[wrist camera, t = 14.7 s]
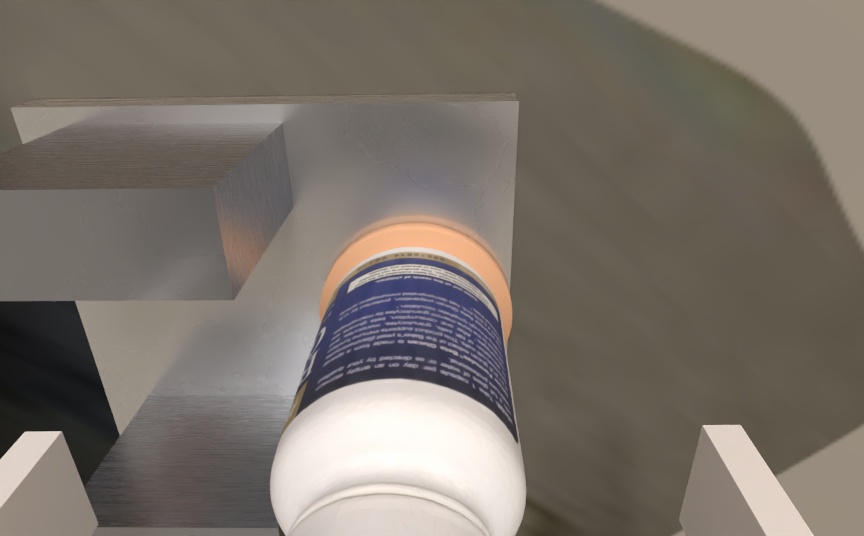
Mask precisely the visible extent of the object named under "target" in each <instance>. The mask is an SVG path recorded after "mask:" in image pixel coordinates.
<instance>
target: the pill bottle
mask: <svg viewBox="0 0 864 536" xmlns="http://www.w3.org/2000/svg"><path fill="white" fill-rule="evenodd" d="M270 496H271V502H272V507H273V510H274V513H275V516H276V519H277V521H278V523H279V525H280V527H281V529H282V531H283V532H284V534H285V536H515V535H516V533H517V530H518V528H519V526H520V523H521V521H522V518H523V513H524V509H525V502H526V480H525V472H524V464H523V458H522V452H521V446H520V440H519V434H518V427H517V421H516V415H515V408H514V401H513V394H512V387H511V380H510V373H509V366H508V360H507V353H506V346H505V339H504V332H503V324H502V319H501V313H500V309H499V306H498V303H497V300H496V298H495V296H494V294H493V292H492V290H491V288H490V287H489V285H488V284H487V282H486V281H485V280H484V279H483V278H482V276H481V275H480V274H479V273H478V272H477V271H476V270H475V269H474V268H472V267H471V266H470V265H468V264H467V263H466V262H464V261H462V260H461V259H459V258H457V257H455V256H453V255H451V254H448V253H446V252H443V251H440V250H436V249H432V248H425V247H400V248H394V249H390V250H386V251H383V252H380V253H377V254H375V255H373V256H371V257H369V258H367V259H365V260H363V261H362V262H360V263H359V264H357V265H356V266H355V267H354V268H352V269H351V270H350V271H349V272H348V273H347V274H346V275H345V276H344V277H343V279H342V280H341V281H340V282H339V284H338V285H337V287H336V289H335V290H334V292H333V294H332V297H331V299H330V301H329V303H328V306H327V308H326V311H325V314H324V317H323V319H322V322H321V325H320V328H319V331H318V333H317V336H316V339H315V342H314V345H313V347H312V350H311V352H310V355H309V357H308V360H307V362H306V365H305V369H304V372H303V374H302V377H301V381H300V383H299V386H298V389H297V392H296V395H295V398H294V401H293V404H292V407H291V409H290V412H289V415H288V418H287V420H286V423H285V426H284V428H283V431H282V434H281V437H280V440H279V443H278V447H277V450H276V454H275V457H274V461H273V465H272V469H271V477H270Z"/></svg>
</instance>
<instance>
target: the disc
mask: <svg viewBox="0 0 864 536" xmlns="http://www.w3.org/2000/svg"><path fill="white" fill-rule="evenodd" d="M400 247H425V248H432V249H436V250H440V251H443V252H446V253H448V254H451V255H453V256H455V257H457V258H459V259H461V260H462V261H464V262H466V263H467V264H468V265H470V266H471V267H472V268H474V269H475V270H476V271H477V272H478V273H479V274H480V275H481V276H482V278H483V279H484V280H485V281H486V282H487V284H488V285H489V287H490V288H491V290H492V292H493V294H494V296H495V298H496V300H497V303H498V306H499V309H500V313H501V319H502V324H503V332H504V339H505V345H506V342H507V340H508V337H509V334H510V330H511V326H512V304H511V299H510V294H509V289H508V285H507V282H506V279H505V277H504V274H503V272H502V271H501V269H500V267H499V265H498V264H497V262H496V261H495V260H494V258H493V257H492V256H491V255H490V254H489V253H488V252H487V251H486V250H485V249H484V248H483V247H482V246H481V245H480V244H478V243H477V242H476V241H474V240H473V239H472V238H470V237H468V236H466V235H464V234H463V233H461V232H459V231H456V230H453V229H451V228H448V227H445V226H441V225H437V224H431V223H424V222H406V223H397V224H392V225H388V226H384V227H381V228H379V229H376V230H373V231H371V232H369V233H367V234H365V235H363V236H362V237H360V238H359V239H357V240H356V241H354V242H353V243H352V244H351V245H349V246H348V247H347V248H346V249H345V250H344V251H343V252H342V253H341V255H340V256H339V257H338V259H337V260H336V261H335V263H334V265H333V266H332V268H331V270H330V272H329V275H328V277H327V280H326V282H325V285H324V288H323V290H322V295H321V300H320V322H322V319H323V317H324V314H325V311H326V308H327V306H328V303H329V301H330V299H331V297H332V294H333V292H334V290H335V289H336V287H337V285H338V284H339V282H340V281H341V280H342V279H343V277H344V276H345V275H346V274H347V273H348V272H349V271H350V270H351V269H352V268H354V267H355V266H356V265H357V264H359V263H360V262H362V261H363V260H365V259H367V258H369V257H371V256H373V255H375V254H377V253H380V252H383V251H386V250H390V249H394V248H400Z"/></svg>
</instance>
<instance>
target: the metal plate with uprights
mask: <svg viewBox="0 0 864 536" xmlns="http://www.w3.org/2000/svg"><path fill="white" fill-rule="evenodd" d="M11 110H12V113H13V116H14V119H15V122H16V125H17V128H18V131H19V134H20V137H21V140H22V143H23V144H22V145H20V146H17V147H15V148H13V149H10V150H8V151H5V152H3V153H1V154H0V301H75V302H76V305H77V308H78V311H79V314H80V317H81V320H82V323H83V326H84V329H85V332H86V335H87V338H88V341H89V344H90V347H91V350H92V353H93V356H94V359H95V362H96V365H97V368H98V371H99V374H100V377H101V380H102V383H103V386H104V389H105V392H106V395H107V398H108V401H109V404H110V407H111V410H112V413H113V416H114V419H115V422H116V425H117V428H118V431H119V434H120V437H119V438H118V440H117V441H116V443H115V444H114V446H113V447H112V448H111V450H110V451H109V453H108V454H107V456H106V457H105V458H104V460H103V461H102V463H101V464H100V466H99V467H98V468H97V470H96V471H95V473H94V474H93V476H92V477H91V478H90V480H89V481H88V483H87V484H86V486H85V487H84V489H85V491H86V494H87V496H88V499H89V501H90V504H91V506H92V509H93V511H94V514H95V516H96V519H97V521H98V526H97V527H96V529H95V531H94V532H93V534H92V536H285V534H284V532H283V531H282V529H281V527H280V525H279V523H278V521H277V519H276V516H275V513H274V510H273V507H272V502H271V496H270V477H271V469H272V465H273V461H274V457H275V454H276V450H277V447H278V443H279V440H280V437H281V434H282V431H283V428H284V426H285V423H286V420H287V418H288V415H289V412H290V409H291V407H292V404H293V401H294V398H295V395H296V392H297V389H298V386H299V383H300V381H301V377H302V374H303V372H304V369H305V365H306V362H307V360H308V357H309V355H310V352H311V350H312V347H313V345H314V342H315V339H316V336H317V333H318V331H319V328H320V325H321V322H320V300H321V295H322V290H323V288H324V285H325V282H326V280H327V277H328V275H329V272H330V270H331V268H332V266H333V265H334V263H335V261H336V260H337V259H338V257H339V256H340V255H341V253H342V252H343V251H344V250H345V249H346V248H347V247H348V246H349V245H351V244H352V243H353V242H354V241H356V240H357V239H359V238H360V237H362V236H363V235H365V234H367V233H369V232H371V231H373V230H376V229H379V228H381V227H384V226H388V225H392V224H397V223H406V222H424V223H431V224H437V225H441V226H445V227H448V228H451V229H453V230H456V231H459V232H461V233H463V234H464V235H466V236H468V237H470V238H472V239H473V240H474V241H476V242H477V243H478V244H480V245H481V246H482V247H483V248H484V249H485V250H486V251H487V252H488V253H489V254H490V255H491V256H492V257H493V258H494V260H495V261H496V262H497V264H498V265H499V267H500V269H501V271H502V272H503V274H504V277H505V279H506V282H507V285H508V289H509V294H510V277H511V256H512V235H513V215H514V194H515V173H516V153H517V132H518V111H519V100H518V98H517V96H516V95H515V93H455V94H380V95H305V96H231V97H156V98H81V99H36V100H33V101H30V102H27V103H23V104H20V105H17V106H14V107H11ZM505 346H506V353H507V342H506V345H505Z"/></svg>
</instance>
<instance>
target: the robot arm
mask: <svg viewBox="0 0 864 536" xmlns="http://www.w3.org/2000/svg"><path fill="white" fill-rule="evenodd" d="M679 521H680V523H681V525H682V528H683V530H684V532H685V535H686V536H814V535H813V534H812V533H811V531H810V529H809V528H808V526H807V525H806V523H805V522H804V520H803V519H802V517H801V516H800V514H799V513H798V511H797V510H796V509H795V507H794V505H793V504H792V502H791V501H790V499H789V498H788V496H787V495H786V493H785V492H784V490H783V489H782V487H781V486H780V484H779V483H778V481H777V479H776V478H775V476H774V475H773V473H772V472H771V470H770V469H769V467H768V466H767V464H766V463H765V461H764V460H763V458H762V457H761V455H760V454H759V452H758V451H757V449H756V448H755V446H754V445H753V443H752V442H751V440H750V439H749V437H748V436H747V434H746V433H745V431H744V430H743V428H742V426H741V425H703V426H702V430H701V434H700V437H699V441H698V445H697V449H696V453H695V457H694V461H693V465H692V469H691V473H690V477H689V481H688V485H687V489H686V493H685V497H684V501H683V505H682V509H681V513H680V517H679ZM97 526H98V521H97V519H96V516H95V514H94V511H93V509H92V506H91V504H90V501H89V499H88V496H87V494H86V491H85V489H84V486H83V484H82V481H81V479H80V476H79V474H78V471H77V469H76V466H75V464H74V461H73V459H72V456H71V454H70V451H69V448H68V446H67V443H66V441H65V438H64V436H63V433H62V431H50V432H24V433H23V434H22V436H21V437H20V438H19V439H18V440H17V441H16V442H15V443H14V445H13V446H12V447H11V448H10V449H9V450H8V451H7V453H6V454H5V455H4V456H3V457H2V458H1V459H0V536H92V534H93V532H94V531H95V529H96V527H97Z"/></svg>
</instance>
